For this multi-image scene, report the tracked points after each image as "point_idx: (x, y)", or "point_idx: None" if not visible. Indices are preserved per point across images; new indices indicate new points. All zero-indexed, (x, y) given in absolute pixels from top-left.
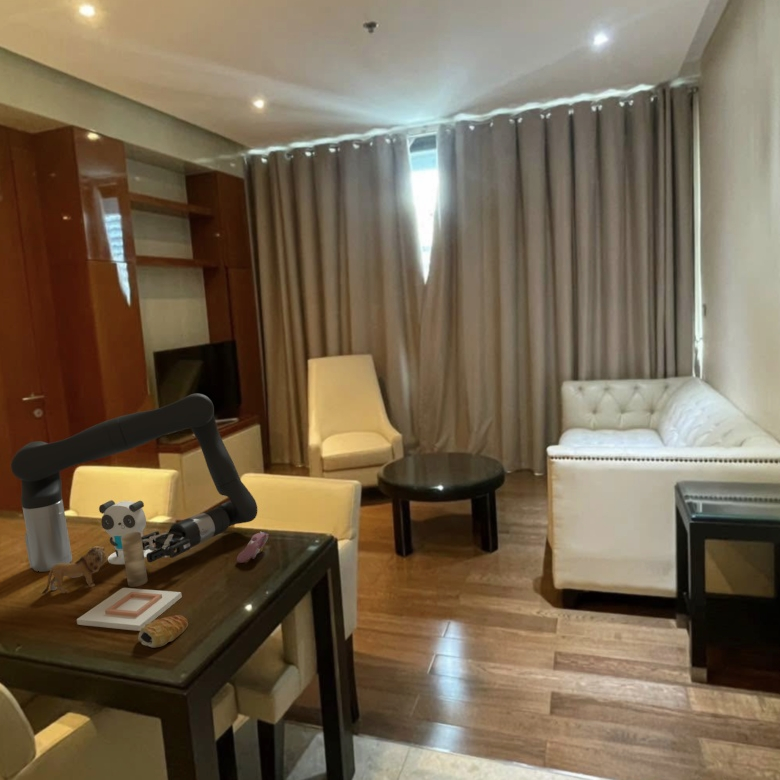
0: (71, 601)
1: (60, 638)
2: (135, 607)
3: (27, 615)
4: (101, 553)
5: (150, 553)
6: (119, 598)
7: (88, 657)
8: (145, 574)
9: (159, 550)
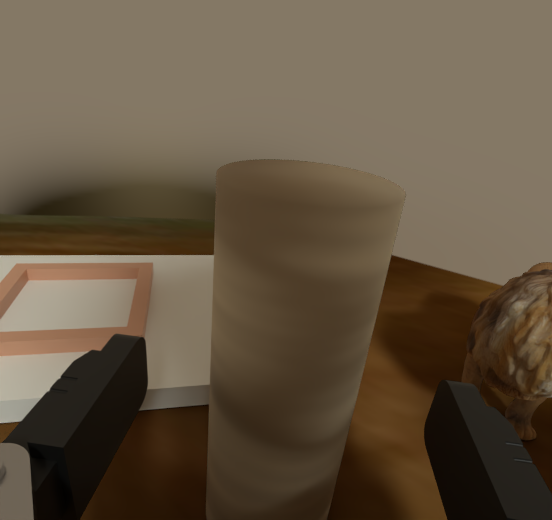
0: (381, 325)
1: (209, 244)
2: (61, 302)
3: (402, 275)
4: (515, 308)
5: (108, 342)
6: (180, 325)
7: (83, 223)
8: (208, 486)
9: (49, 425)
